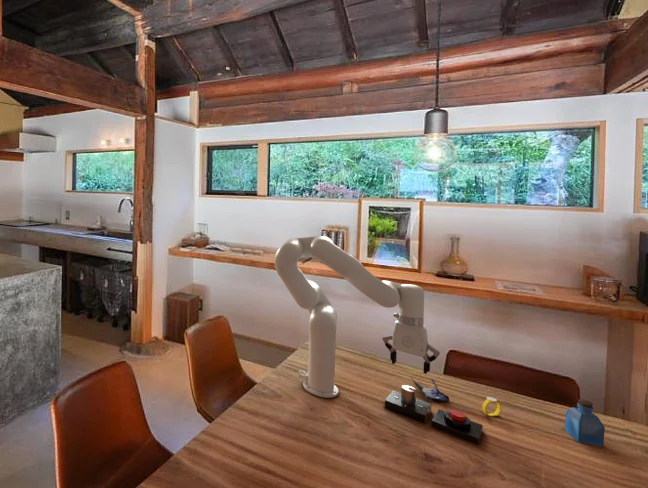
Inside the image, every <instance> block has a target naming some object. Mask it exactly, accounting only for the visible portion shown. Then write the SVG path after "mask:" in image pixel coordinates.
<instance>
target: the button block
mask: <svg viewBox="0 0 648 488" xmlns="http://www.w3.org/2000/svg"><path fill="white" fill-rule="evenodd" d="M450 411H451V410H446V411H445V410H443V409H440V408H438V409H437V410H436V413H435V415H434V416H433V418H432V420H431V427H432V428H434V429H436V430H439V431H441V432H444V433H446V434H449V435H452V436H454V437H456V438H459V439H462V440H464V441H467V442H468V443H472V444H474V445H477V446H479V444H480V440H481V437H482V435H483V430H484V429H483V428H484V425H483V424H482V423H479V422H476V421H473V420H471V419H470V418H469V417H468V416H466V415H465V422H460V421H457V420H454V419H452V418H451V417H450Z"/></svg>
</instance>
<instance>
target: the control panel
mask: <svg viewBox="0 0 648 488" xmlns="http://www.w3.org/2000/svg"><path fill="white" fill-rule="evenodd" d="M384 409H386V410H388V411H391V412H393V413H396V414H399V415H401V416H404V417H406V418H409V419H411V420H413V421H416V422H419V423H421V424H424V425H425V424H426V422H427V421H428V419H429V417H430V416H431V413H432V403H430V402H427V401H425V400H421V399H419V398H416V404H415V405H407V404H405V403H403V402H402V401H401V391H396V390H394V389H393V390H392V391H391V392H390V393H389V395H388V396H387V397H386V398H385V400H384Z"/></svg>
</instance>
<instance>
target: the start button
mask: <svg viewBox="0 0 648 488" xmlns="http://www.w3.org/2000/svg"><path fill="white" fill-rule="evenodd" d="M449 411H450V417H451V418H452V419H454V420H457V421H460V422H465V416H466V414H465V413H463V412H462V411H460V410H456V409H451V410H449Z"/></svg>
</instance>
